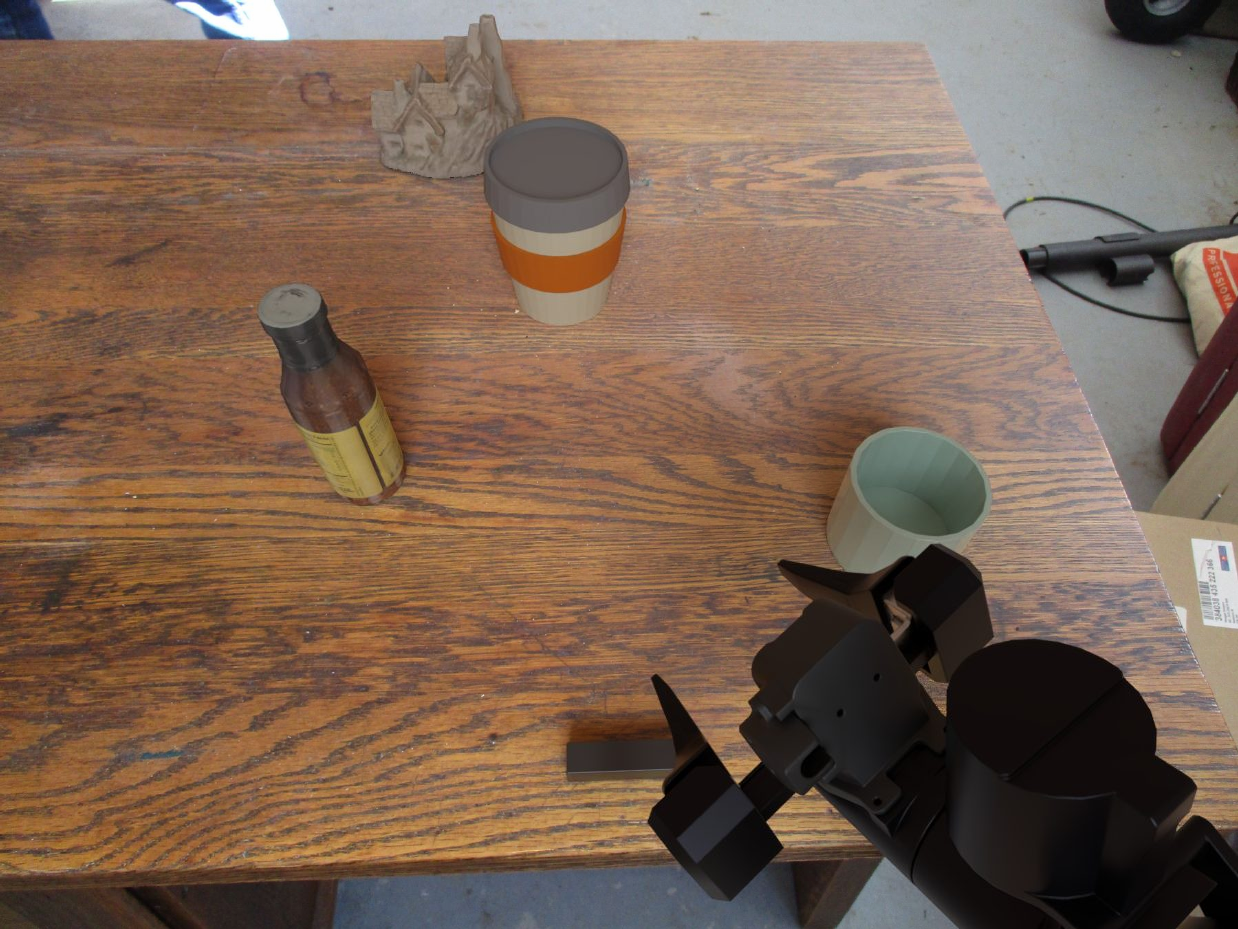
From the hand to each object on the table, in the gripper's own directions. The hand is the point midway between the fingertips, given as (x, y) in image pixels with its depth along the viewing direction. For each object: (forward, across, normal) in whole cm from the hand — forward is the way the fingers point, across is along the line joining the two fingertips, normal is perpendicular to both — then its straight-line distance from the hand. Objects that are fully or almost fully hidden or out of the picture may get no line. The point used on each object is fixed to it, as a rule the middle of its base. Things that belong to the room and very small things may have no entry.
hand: (719, 621), depth 45 cm
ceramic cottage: (+70, -21, -9) cm, 73 cm away
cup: (+9, -18, +17) cm, 26 cm away
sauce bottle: (+34, +10, -1) cm, 36 cm away
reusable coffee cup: (+43, -15, +1) cm, 46 cm away
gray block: (+6, +9, +12) cm, 16 cm away
